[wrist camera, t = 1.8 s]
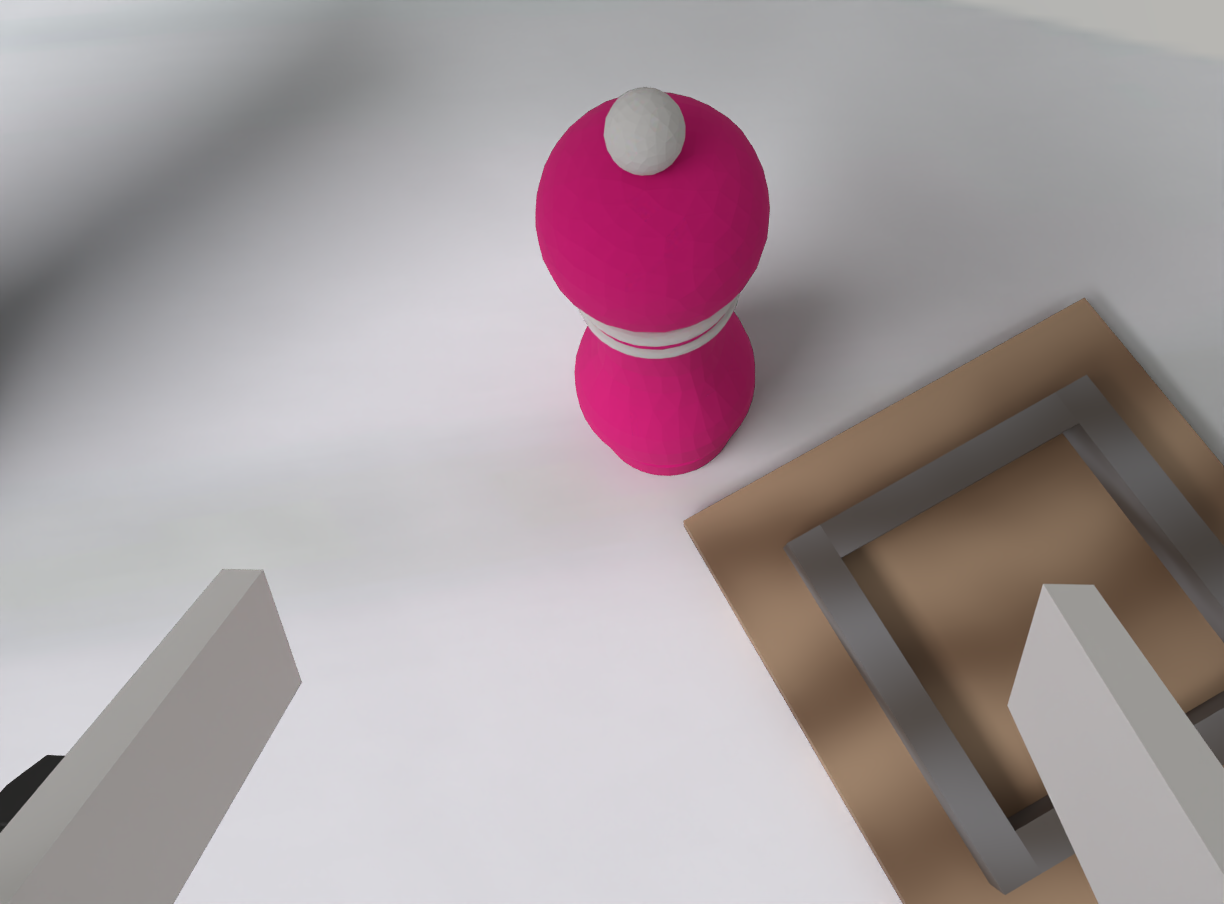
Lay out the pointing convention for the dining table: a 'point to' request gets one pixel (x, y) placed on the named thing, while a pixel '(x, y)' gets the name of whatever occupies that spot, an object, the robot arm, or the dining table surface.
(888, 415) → the pocket board
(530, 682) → the dining table surface
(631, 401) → the pepper mill
